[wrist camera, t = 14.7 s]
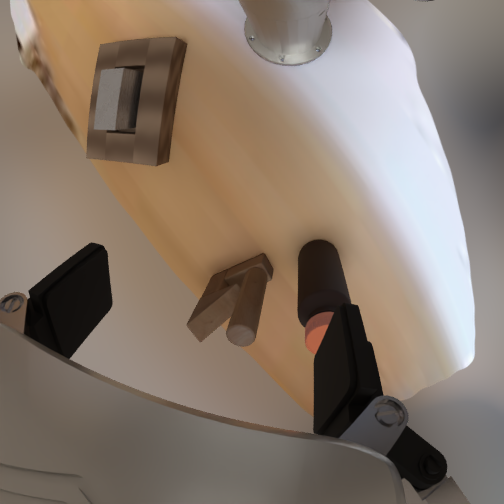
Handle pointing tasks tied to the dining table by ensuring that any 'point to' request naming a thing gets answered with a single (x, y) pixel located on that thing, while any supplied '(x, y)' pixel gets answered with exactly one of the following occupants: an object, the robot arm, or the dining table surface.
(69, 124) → the dining table surface
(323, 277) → the bottle
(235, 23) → the dining table surface
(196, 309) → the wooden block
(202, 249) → the dining table surface
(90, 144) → the post base
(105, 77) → the grey bar
